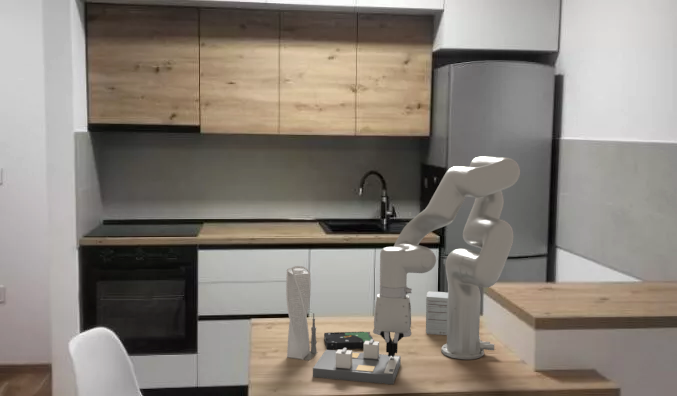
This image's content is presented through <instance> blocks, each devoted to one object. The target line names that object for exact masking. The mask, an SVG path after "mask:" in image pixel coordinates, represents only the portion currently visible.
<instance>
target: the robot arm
mask: <svg viewBox="0 0 677 396" xmlns="http://www.w3.org/2000/svg"><path fill="white" fill-rule="evenodd" d="M520 175H521V169H520V165H519V164H518V162H517V161H516V160H514V159H513V158H510V157H505V156H504V157H501V156H490V155H489V156H488V155H484V156H483V155H482V156H477V157H474V158H473V159H472V160H471V162H470V164H469V166H464V165H463V166H462V165H460V166H459V165H455V166H452V167H450V168H448V170H446V172H445V174H444V175H443V177H442V178H441V180H440V182H439V185H438V186H437V188H436V190H435V192H434V193H433V195H432V196H431V199H430V200H429V203H428V204H427V206H426V207H425V209H423V210H422V211H421V212H420V213H418V214H417V215H415V217H414V218H413V217H412V219H411V220H410V221H409V222H408V223H406V225H405V226H404V227H403V228H402V230H401V231H400V233H399V235H398V237H397V239H396V240H395V242H394V245H393V246H386V247H383V248H382V249H381V250H380V255H379V293H377V295H376V301H375V305H374V317H373V318H374V319H373V331H372V332H373V334H374V335H377V336H380V337H381V338H382V339H383V340H384V341H385V343H386V344H385V347H386V349H385V352H386V353H387V355H388V356H389V357H390V356H392V357H394V355H395V356H396V354H398V346H399V345H398V343H399V341H401V340H402V338H407V337H408V338H409V337H411V335H412V330H411V328H412V308H411V306H412V305H411V299H410V296H409V294H412V292H413V291H412V290H413V289H412V287H411V288H410V287H408V284H407V281H408V280H407V279H408V274H409V273H410V274H426V273H429V272H430V271H432V270H433V269H434V268H435V266H436V262H437V257H436V255H435V252H434V251H433V250H432V249H431V248H429V247H427V246H423V245H420V243H421V241H422V240H423V239H424V238H425V237H426V236H427V235H429V234H430V233H432V232H433V231H436V230H438V229H441V228H443V227H446V226H448V225H450V224H452V223H453V222H454V220H455V219H456V217H457V214H458V213H459V210H460V209H461V208H462V205H463V204H464V202H465V200H466V198H467V197H469V198H475V199H474V202H473V205H472V208H471V209H470V212H469V215H468V216H467V220H466V223H465V225H464V228H463V232H462V239H463V240H464V242H465V243H466V244H467V245H469V246H471V247H475V248H479V249H481V250H480V251H479V252H478V251H476V250H472V249H468V248H456V249H453V250H452V251H451V252H450V253H448V255H447V257H446V260H445V266H444V267H445V275H446V280H447V293H448V316H447V335H446V343H444V344H443V345H442V346H441V353H442V354H443V355H444V356H446V357H449V358H452V359H457V360H476V359H479V358H482V357H483V356H484V354H485V350H486V351H487V350H488V351H495V343H491V341H483V340H481V336H480V323H481V321H480V320H481V316H480V315H481V292H480V288H491V287H493V286H494V285H495V284H496V283H497V282H498V280H499V279H500V277H501V275H502V272H503V270H504V267H505V265H506V263H507V259H508V257H509V254H510V253H511V252H510V251H511V249H512V246H513V243H514V231H513V230H514V229H513V228H512V226H511V225H510V223H508V222H507V221H506V220H504V219H500V217H501V214H502V210H503V208H504V203H505V202H504V194H503V190H506V189H508V188H511V187H513V186H514V185H515V184H516V183H517V182H518V180H519V179H520ZM479 287H480V288H479ZM391 333H394V336H393V338H391Z"/></svg>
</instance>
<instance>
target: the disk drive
mask: <svg viewBox="0 0 677 396" xmlns="http://www.w3.org/2000/svg"><path fill="white" fill-rule="evenodd" d="M371 339H374V338H373V335H371V332H370V331H343V332H342V331H340V332H339V331H338V332H337V331H336V332H333V331H331V332H324V334H323V340H324V344H325V348H326V350H336V351H337V350H338V349H339V350H343V348H347V350H359V349H360V350H361V349H362V350H363V349H364V342H365V341H370V340H371Z"/></svg>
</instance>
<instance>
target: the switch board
mask: <svg viewBox="0 0 677 396" xmlns="http://www.w3.org/2000/svg"><path fill="white" fill-rule="evenodd" d="M336 352H337V349H336V350H327V349H325V350H324V352H323V353H322V355H321V356H320V357H319V359H318V360H317V361H316V362H315V364H314V366H313V367H312V378H320V379H321V378H322V379H332V380H341V381H342V380H343V381H350V382H351V381H352V382H361V383H362V382H363V383H372V384H373V382H374V384H382V383H385V385H394V383H395V381H396V378H397V376H398V372H399V369H400V366H401V363H402V362H401V359H402V357H401V355H396V354H395V355H394V357H392V356H390V357H389V356H388V354H383V353H381V354H380V353H379V357H378V359H372V358H363V352H359V351H358V352H356V351H352V366H351V368H350V369H348V368H337V367H336Z"/></svg>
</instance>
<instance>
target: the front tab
mask: <svg viewBox="0 0 677 396" xmlns="http://www.w3.org/2000/svg"><path fill="white" fill-rule="evenodd" d="M336 351H337V352H336V367H337V368H348V369H350V368H351V366H352V352H353V350H352V349H347V348H343V349H336Z"/></svg>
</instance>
